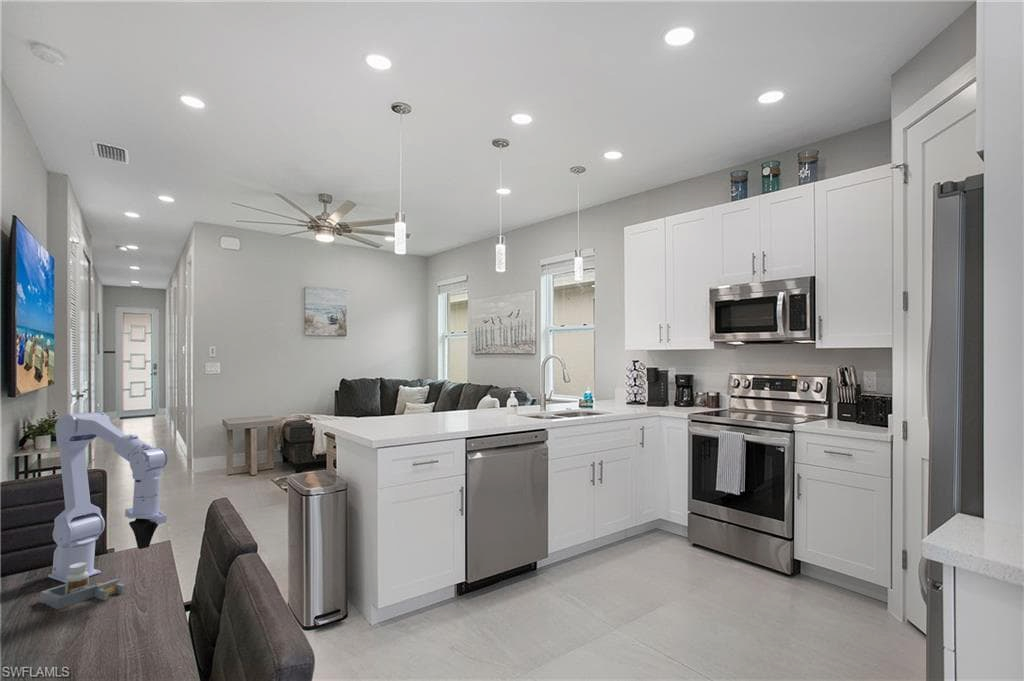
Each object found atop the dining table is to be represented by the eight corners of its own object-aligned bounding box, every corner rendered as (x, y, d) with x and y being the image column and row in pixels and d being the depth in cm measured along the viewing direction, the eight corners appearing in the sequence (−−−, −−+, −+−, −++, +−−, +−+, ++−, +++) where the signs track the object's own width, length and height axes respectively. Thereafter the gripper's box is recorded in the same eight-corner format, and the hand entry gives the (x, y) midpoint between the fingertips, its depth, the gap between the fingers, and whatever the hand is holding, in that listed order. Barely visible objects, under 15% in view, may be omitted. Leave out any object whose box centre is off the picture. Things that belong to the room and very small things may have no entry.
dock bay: (39, 602, 122) (40, 590, 122) (97, 583, 133) (98, 572, 133) (67, 613, 117) (68, 601, 117) (125, 593, 128) (125, 581, 128)
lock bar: (91, 591, 128) (92, 584, 128) (102, 588, 130) (102, 581, 130) (105, 596, 125) (105, 589, 126) (115, 592, 128) (116, 585, 128)
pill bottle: (67, 602, 122) (69, 569, 123) (61, 597, 125) (63, 565, 125) (90, 596, 126) (92, 564, 126) (84, 591, 128) (86, 560, 129)
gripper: (113, 495, 133) (110, 547, 132) (147, 502, 127) (143, 557, 126) (142, 489, 139) (139, 539, 138) (176, 496, 133) (172, 548, 132)
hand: (143, 547), depth 133 cm, fingers closed
